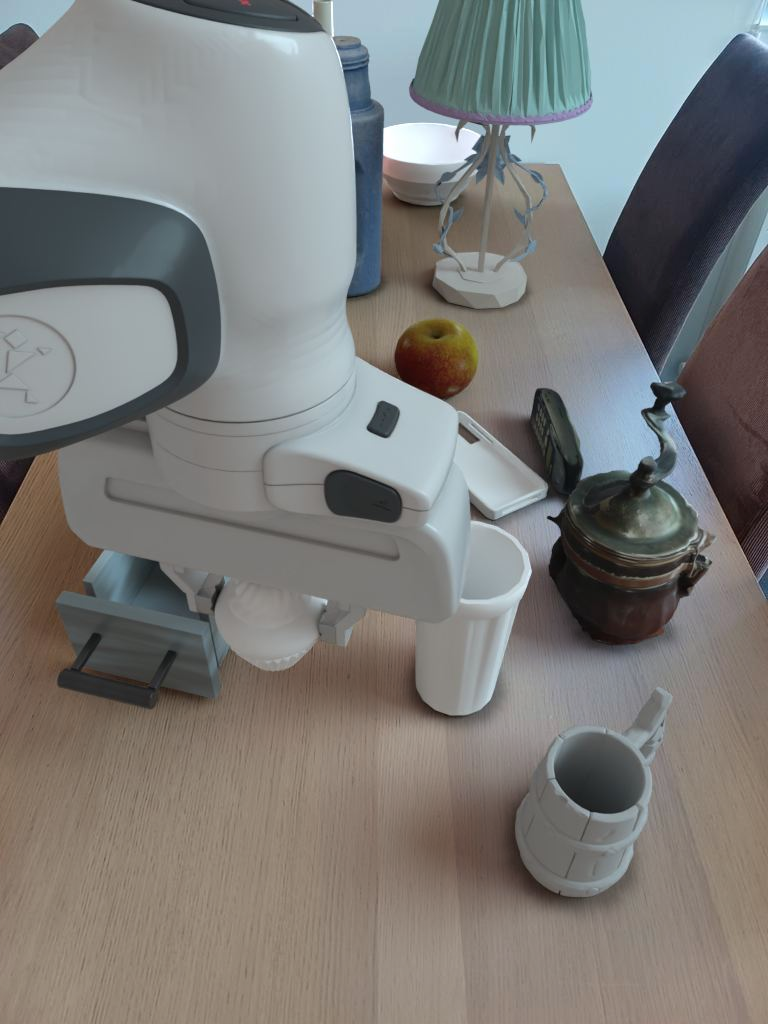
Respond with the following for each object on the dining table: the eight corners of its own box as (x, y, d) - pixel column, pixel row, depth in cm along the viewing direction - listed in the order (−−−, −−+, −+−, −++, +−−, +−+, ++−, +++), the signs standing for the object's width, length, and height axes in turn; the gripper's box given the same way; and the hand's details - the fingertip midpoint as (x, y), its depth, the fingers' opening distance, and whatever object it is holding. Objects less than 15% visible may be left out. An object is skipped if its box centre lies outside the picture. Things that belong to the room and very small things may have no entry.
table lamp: (542, 252, 120) (596, -76, 93) (570, 326, 105) (646, -43, 77) (397, 251, 120) (409, -81, 92) (404, 326, 104) (421, -48, 76)
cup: (502, 737, 60) (529, 615, 51) (395, 719, 61) (402, 596, 51) (508, 651, 66) (534, 527, 56) (411, 636, 67) (420, 511, 57)
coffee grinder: (673, 546, 76) (734, 385, 63) (683, 673, 65) (758, 510, 53) (537, 524, 77) (570, 364, 65) (525, 645, 67) (562, 481, 54)
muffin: (289, 712, 43) (281, 630, 38) (198, 663, 45) (181, 580, 40) (349, 633, 47) (349, 550, 42) (264, 592, 49) (254, 508, 44)
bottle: (386, 269, 115) (392, 31, 95) (373, 302, 108) (377, 53, 88) (321, 262, 116) (313, 25, 96) (304, 295, 109) (292, 46, 89)
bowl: (506, 194, 136) (513, 143, 131) (431, 228, 126) (434, 174, 120) (421, 163, 146) (423, 115, 140) (344, 192, 135) (343, 141, 130)
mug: (488, 842, 54) (511, 748, 46) (592, 737, 60) (629, 638, 52) (580, 930, 50) (623, 844, 42) (681, 808, 57) (736, 713, 48)
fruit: (379, 396, 92) (381, 335, 87) (411, 358, 98) (415, 299, 93) (457, 419, 89) (464, 357, 84) (485, 378, 95) (493, 318, 90)
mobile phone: (531, 384, 86) (567, 471, 75) (558, 383, 87) (598, 470, 75) (525, 422, 90) (558, 511, 78) (551, 421, 90) (588, 509, 79)
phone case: (405, 439, 86) (491, 522, 77) (405, 429, 86) (492, 512, 76) (460, 418, 89) (549, 496, 80) (461, 408, 89) (551, 485, 79)
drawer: (189, 753, 58) (172, 690, 53) (47, 717, 60) (16, 653, 54) (280, 565, 72) (273, 500, 66) (162, 540, 73) (146, 475, 68)
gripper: (-4, 415, 34) (71, 621, 44) (468, 509, 31) (439, 711, 40) (74, 340, 39) (127, 542, 48) (494, 416, 35) (463, 617, 45)
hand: (272, 620), depth 44 cm, fingers closed on muffin, 6 cm apart
